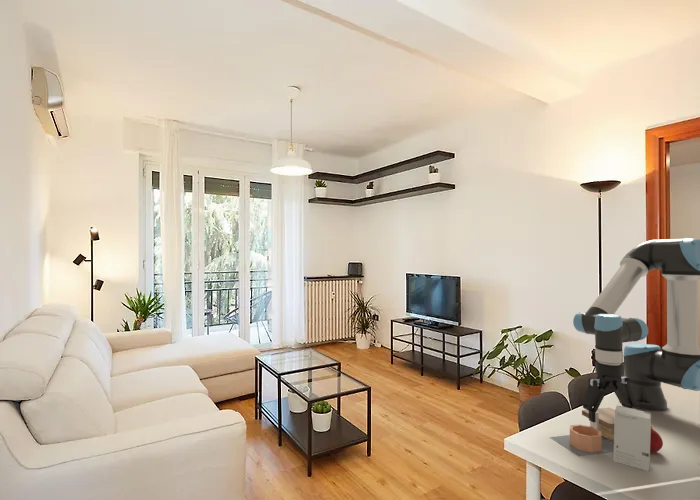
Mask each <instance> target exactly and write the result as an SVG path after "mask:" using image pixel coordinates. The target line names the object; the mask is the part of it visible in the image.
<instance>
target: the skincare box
mask: <svg viewBox="0 0 700 500" xmlns="http://www.w3.org/2000/svg"><path fill="white" fill-rule="evenodd" d="M614 410H615V422H614V439H613V444H614V452H613V454H612V455H613V460H612V461H613V462H614V463H620V464H623V465H626V466H630V467H634V468H636V469H640V470H644V471H646V472H649V471H650V463H651V462H650V461H651V460H650V459H651V452H650V435H651V426H652V423H651V422H652V413H650V412H647V411H642V410H641V409H640V410H639V409H637V408H636V409H635V408H634V409H632V408H627V407H623V406H622V405H616V406H615V409H614Z"/></svg>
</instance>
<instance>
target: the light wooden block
mask: <svg viewBox="0 0 700 500" xmlns="http://www.w3.org/2000/svg"><path fill="white" fill-rule="evenodd" d="M599 431H601V436H602V437H604V438H607V440H608V439H609V441H611V440H613V441H614V429H609V428H607V427H605V426H603V425H601V424H599Z"/></svg>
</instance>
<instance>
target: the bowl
mask: <svg viewBox="0 0 700 500" xmlns="http://www.w3.org/2000/svg"><path fill="white" fill-rule="evenodd" d="M569 435H570V445H572V446H574V447H575V448H577V449H578V450H583V451H587V452H591V453H593V452H601V451H602V438H603V436H602V435H601V431H599V430H597V429H595V428H593V427H590V425H585V424H580V423H579V424H574V425H573V424H571V425H570V427H569Z"/></svg>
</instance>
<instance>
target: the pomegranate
mask: <svg viewBox="0 0 700 500" xmlns="http://www.w3.org/2000/svg"><path fill="white" fill-rule="evenodd" d="M663 446H664V443H663V439H662V436H661V435H660V434H659V432H657V431H656V430H655V429H654V428H653V426H652V425H651V435H650V454H652V453H657V452H659V451H661V449H662V448H663Z"/></svg>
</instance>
